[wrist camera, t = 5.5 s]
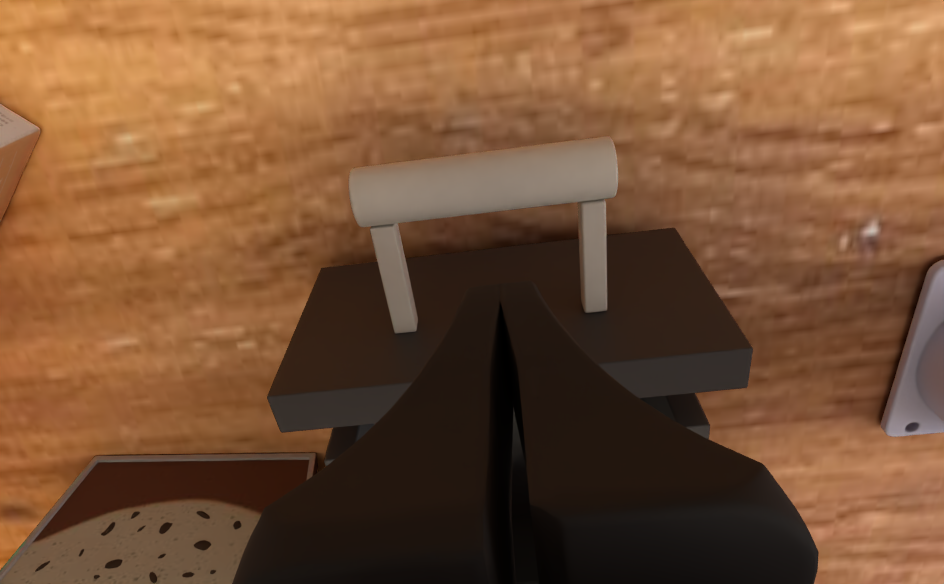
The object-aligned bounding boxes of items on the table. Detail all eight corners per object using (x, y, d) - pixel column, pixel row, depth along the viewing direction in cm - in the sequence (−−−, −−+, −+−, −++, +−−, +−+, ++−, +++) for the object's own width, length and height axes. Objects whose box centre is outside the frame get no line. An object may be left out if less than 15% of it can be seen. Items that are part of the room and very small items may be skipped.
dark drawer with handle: (280, 132, 18) (197, 228, 12) (682, 80, 17) (781, 157, 11) (394, 516, 26) (375, 669, 21) (661, 493, 26) (710, 646, 20)
